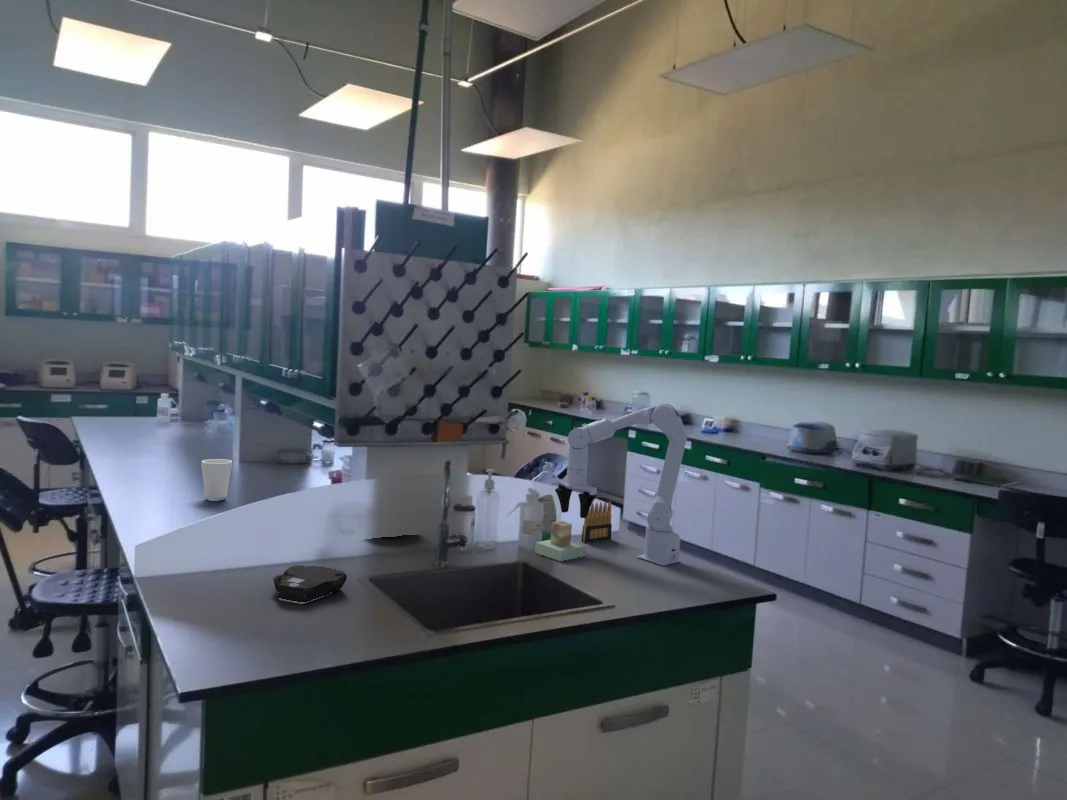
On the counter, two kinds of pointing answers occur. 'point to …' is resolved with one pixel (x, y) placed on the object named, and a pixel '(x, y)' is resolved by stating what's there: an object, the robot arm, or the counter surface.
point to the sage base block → (560, 550)
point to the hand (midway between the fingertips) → (574, 514)
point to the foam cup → (216, 477)
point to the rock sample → (308, 582)
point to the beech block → (561, 533)
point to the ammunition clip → (597, 523)
